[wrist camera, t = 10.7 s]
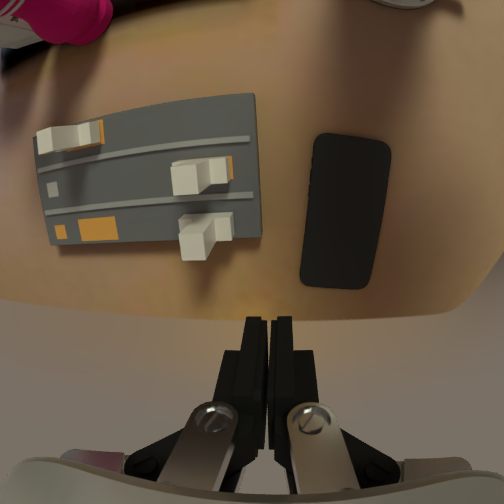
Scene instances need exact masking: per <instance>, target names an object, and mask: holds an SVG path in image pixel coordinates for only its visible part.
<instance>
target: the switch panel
mask: <svg viewBox="0 0 504 504" xmlns="http://www.w3.org/2000/svg"><path fill="white" fill-rule="evenodd" d="M87 122H99V130H100V141H101V142H99V143H94V144H90V145H86V146H81V147H77V148H73V149H69V150H65V151H59V152H56V151H55V152H50V153H45V154H40V155H39V154H38V144H37V136H35V137H33V145H34V155H35V163H36V171H37V178H38V185H39V191H40V197H41V202H42V208H43V213H44V218H45V223H46V227H47V232H48V236H49V240H50V244H51V245H71V244H93V243H115V242H139V241H165V240H179V235H178V234H179V233H180V229H179V222H178V219H180V218H181V217H182V216H183V215H184V214H201V213H222V212H233V219H234V232H235V235H234V237H233V238H261V237H262V231H263V230H262V210H261V190H260V172H259V153H258V136H257V119H256V102H255V95H254V93H244V94H232V95H221V96H212V97H203V98H195V99H188V100H181V101H174V102H168V103H162V104H157V105H151V106H146V107H141V108H136V109H131V110H127V111H122V112H118V113H113V114H109V115H105V116H101V117H97V118H93V119H90V120H86V121H82V122H79V123H75V124H72V125H80V124H83V123H87ZM228 156H229V166H230V181H229V182H228V183H221V184H211V185H209V186H208V187H207V188H206V189H204V190H203V191H202V192H200V193H199V194H190V195H177V196H173V187H172V178H171V168H170V167H172V163H173V162H176V161H181V160H191V159H202V158H214V157H228Z"/></svg>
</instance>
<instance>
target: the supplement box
mask: <svg viewBox="0 0 504 504" xmlns="http://www.w3.org/2000/svg"><path fill="white" fill-rule="evenodd" d="M39 41H43V39H41V38H40V37H39V36H37V35H36V34H35V32H34V31H33V30H32V28H31V27H30V25H29V24H28V23H27V22H26V21H24V20H23V19H21V18H18V17H15V16H9V17H7V18H4V19H0V47H7V48H14V49H17V48H20V47H23V46H26V45H30V44H33V43H36V42H39Z"/></svg>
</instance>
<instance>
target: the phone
mask: <svg viewBox="0 0 504 504" xmlns="http://www.w3.org/2000/svg"><path fill="white" fill-rule="evenodd" d="M390 163H391V150H390V148H389V146H388V145H387V144H386V143H384V142H381V141H377V140H371V139H365V138H359V137H353V136H346V135H338V134H330V133H324V134H321V135H319V136H318V137H317V138H316V139H315V142H314V146H313V157H312V169H311V172H310V185H309V193H308V197H309V199H308V209H307V218H306V226H305V235H304V243H303V251H302V259H301V267H300V279H301V281H302V283H303V284H305V285H307V286H312V287H325V288H339V289H355V290H357V289H362V288H364V287H365V286H366V285H367V284H368V282H369V279H370V276H371V271H372V267H373V262H374V258H375V253H376V248H377V243H378V238H379V233H380V228H381V222H382V217H383V211H384V205H385V199H386V192H387V186H388V178H389V171H390Z"/></svg>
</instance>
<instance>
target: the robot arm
mask: <svg viewBox="0 0 504 504" xmlns="http://www.w3.org/2000/svg"><path fill="white" fill-rule="evenodd" d="M373 1H376V2H378V3H381V4H383V5H387V6H391V7H395V8H402V9H416V8H420V7H424V6H426V5H428V4H430V3H431V2H432V1H434V0H373ZM267 408H268V435H269V436H268V437H269V438H268V439H269V449H270V450H275V451H274V453H275V454H274V456H275V457H274V460H275V461H276V462H278V463H279V464H280V465H281V466H283V467H284V468H285V471H284V472H285V477H286V483H287V489H288V495H265V494H241V493H238V492H239V489H240V486H241V482H242V479H243V476H244V473H245V469H246V465H247V464H249V463H251V462H252V461H253V460H255V457H257V456H258V449H264V443H265V429H266V413H267ZM0 504H504V476H503V475H500V474H498V473H495V472H490V471H481V470H472V468H471V465H470V463H469V462H468V461H467V460H465V459H463V458H461V457H447V458H429V459H428V458H427V459H404V461H403V462H402V461H395V460H393V459H392V458H391V457H389V456H387V455H385V454H383V453H381V452H380V451H378V450H376V449H375V448H373V447H371V446H369V445H368V444H366V443H364V442H362V441H361V440H359V439H357V438H356V437H354V436H352V435H350V434H349V433H347V432H346V431H344V430H342V429H341V428H340V427H339V424H338V421H337V418H336V415H335V414H334V412H333V410H331V409H330V408H329V407H328V406H326V405H324V404H321V403H319V399H318V390H317V380H316V371H315V363H314V355H313V350H295V351H293V333H292V316H277V320H271V338H270V356H269V366H268V335H267V320H262V319H261V317H246V321H245V327H244V333H243V339H242V344H241V350H240V351H234V350H225V352H224V355H223V360H222V364H221V368H220V372H219V376H218V380H217V384H216V388H215V392H214V397H213V400H212V401H211V402H206V403H204V404H201V405H199V406H198V407H197V408H195V409H194V411H193V412H192V413H191V415H190V417H189V419H188V421H187V423H186V425H185V427H184V428H183V429H181V430H179V431H177V432H175V433H173V434H171V435H169V436H167V437H165V438H163V439H161V440H159V441H157V442H155V443H153V444H151V445H149V446H147V447H145V448H143V449H140V450H138V451H136V452H135V453H133V454H131V455H125V454H124V453H120V452H103V451H90V450H80V449H72V450H68V451H66V452H65V453H63V454H62V455H61V457H60V458H55V457H33V458H28V459H25V460H22V461H20V462H19V463H18V464H17V465H16V466H14V467H13V468H12V469H11V471H10V472H9V473H8V474H7V476H6V477H5V478H4V480H3V481H2V483H1V484H0Z"/></svg>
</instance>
